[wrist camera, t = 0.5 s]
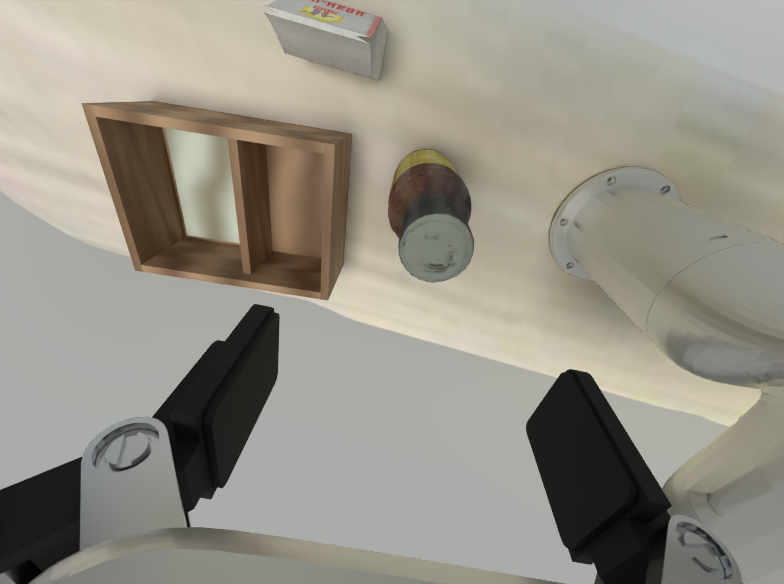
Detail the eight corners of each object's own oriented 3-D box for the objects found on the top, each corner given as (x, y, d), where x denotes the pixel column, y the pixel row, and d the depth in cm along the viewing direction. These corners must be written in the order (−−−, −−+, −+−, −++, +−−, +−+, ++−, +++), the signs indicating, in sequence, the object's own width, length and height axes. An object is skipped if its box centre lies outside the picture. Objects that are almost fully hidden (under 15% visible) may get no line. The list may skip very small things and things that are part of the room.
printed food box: (379, 80, 30) (364, 75, 21) (307, 60, 29) (263, 46, 21) (388, 31, 28) (375, 4, 19) (311, 8, 28) (264, -30, 19)
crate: (351, 134, 32) (334, 144, 26) (343, 265, 40) (328, 300, 33) (152, 101, 32) (81, 103, 25) (183, 240, 40) (135, 270, 33)
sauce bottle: (432, 217, 36) (445, 325, 19) (384, 189, 35) (353, 278, 18) (467, 164, 33) (519, 238, 16) (415, 131, 32) (414, 173, 15)
